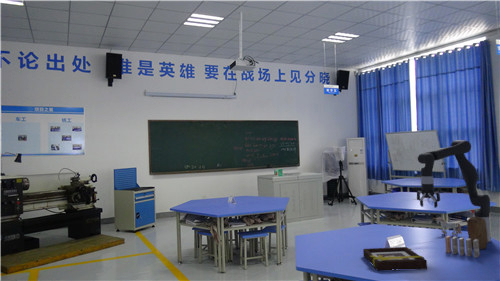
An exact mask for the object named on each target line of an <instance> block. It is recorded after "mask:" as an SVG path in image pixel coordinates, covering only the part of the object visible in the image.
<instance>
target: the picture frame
mask: <svg viewBox="0 0 500 281" xmlns="http://www.w3.org/2000/svg"><path fill="white" fill-rule="evenodd" d="M362 250H363V252H362V253H363V254H362V255H363V257H364V256H365V257H366V258H367V259H368V260H369V261H370V262H371V263H372V264H373V266H374V267H375V268H376V269H377V270H392V269H394V270H392V271H397V270H396V269H417V270H428V264H427V263H428V261H427V260H426V259H425V257H424V256H423V255H420V254H417V252H414V250H412V249H410V248H409V247H407V246H402V247H401V246H400V247H398V246H397V247H378V248H377V247H375V248H373V247H372V248H363V249H362ZM365 257H364V258H365ZM366 258H365V259H366ZM367 259H366V260H367ZM373 266H372V267H373ZM374 267H373V268H374ZM375 268H374V269H375ZM376 269H375V270H376ZM377 270H376V271H377Z"/></svg>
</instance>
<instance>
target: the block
mask: <svg viewBox="0 0 500 281" xmlns="http://www.w3.org/2000/svg"><path fill="white" fill-rule="evenodd" d="M466 226H467V228H466V229H467V234H468V238H469V239H471V244H472V248H473V241H474V240H475V239H477V240H478V241H479V250H485V249H487V245H488V243H489V242H487V241H488V240H487V228H486V221H485V219H483V218H480V217H474V216H472V217H470V218H468V220H467V223H466ZM468 238H467V239H468Z"/></svg>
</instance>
